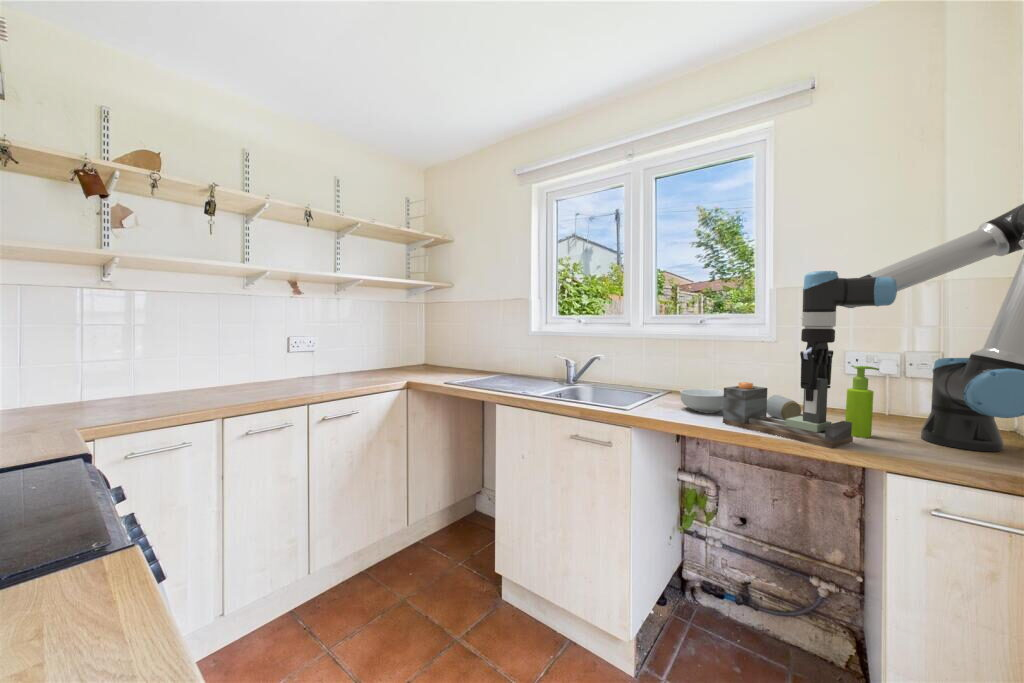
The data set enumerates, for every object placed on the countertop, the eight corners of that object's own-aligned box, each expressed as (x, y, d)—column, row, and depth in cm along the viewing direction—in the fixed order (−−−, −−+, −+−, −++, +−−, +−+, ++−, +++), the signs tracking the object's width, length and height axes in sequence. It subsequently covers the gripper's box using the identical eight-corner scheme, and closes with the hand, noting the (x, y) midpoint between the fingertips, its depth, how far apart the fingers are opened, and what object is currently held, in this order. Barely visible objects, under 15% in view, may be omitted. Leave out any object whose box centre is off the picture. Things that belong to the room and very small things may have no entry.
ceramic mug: (782, 422, 136) (783, 399, 135) (764, 416, 144) (765, 394, 143) (811, 422, 137) (813, 399, 136) (792, 416, 145) (793, 394, 145)
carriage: (831, 428, 117) (833, 378, 116) (817, 432, 113) (819, 380, 112) (799, 422, 124) (801, 375, 123) (785, 425, 120) (787, 377, 119)
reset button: (755, 392, 133) (755, 383, 133) (748, 394, 131) (748, 384, 131) (743, 391, 136) (743, 381, 136) (735, 392, 134) (736, 382, 134)
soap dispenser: (879, 439, 117) (883, 368, 116) (849, 436, 119) (853, 366, 118) (870, 433, 123) (873, 365, 122) (841, 431, 125) (844, 364, 124)
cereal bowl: (696, 404, 165) (697, 386, 164) (739, 412, 151) (740, 392, 151) (670, 409, 155) (670, 390, 155) (713, 418, 141) (713, 397, 141)
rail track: (852, 441, 114) (854, 400, 114) (831, 448, 108) (833, 404, 108) (744, 419, 140) (745, 385, 140) (722, 423, 134) (723, 387, 134)
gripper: (818, 327, 123) (814, 406, 124) (787, 327, 114) (783, 412, 116) (848, 328, 117) (844, 411, 118) (818, 328, 108) (814, 418, 109)
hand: (814, 411), depth 117 cm, fingers closed on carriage, 4 cm apart
